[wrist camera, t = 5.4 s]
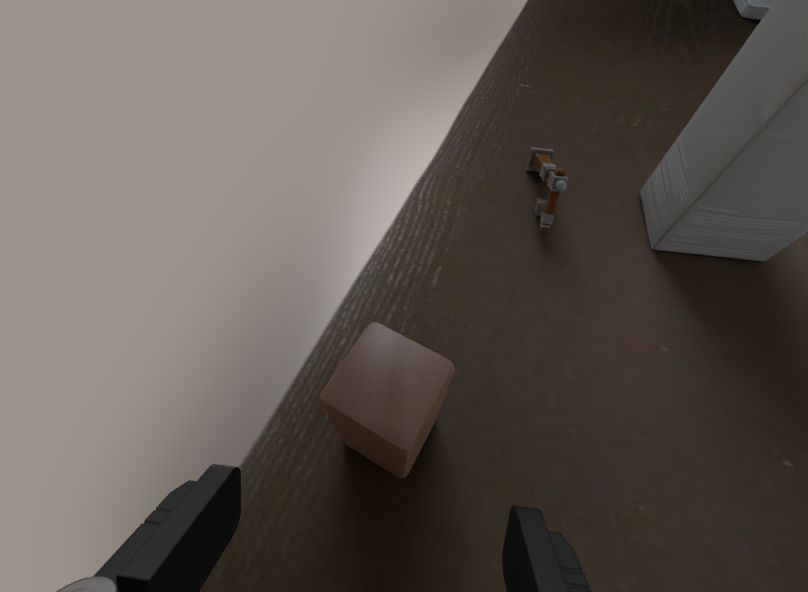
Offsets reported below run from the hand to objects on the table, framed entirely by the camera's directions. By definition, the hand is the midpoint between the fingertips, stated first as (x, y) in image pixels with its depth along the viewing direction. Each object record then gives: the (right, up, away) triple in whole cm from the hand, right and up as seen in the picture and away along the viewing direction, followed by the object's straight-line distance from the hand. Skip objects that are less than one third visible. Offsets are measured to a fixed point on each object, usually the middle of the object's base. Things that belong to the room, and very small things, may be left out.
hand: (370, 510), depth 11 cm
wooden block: (0, -1, +10) cm, 10 cm away
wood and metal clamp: (+12, +14, +20) cm, 27 cm away
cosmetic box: (+23, +11, +18) cm, 32 cm away
